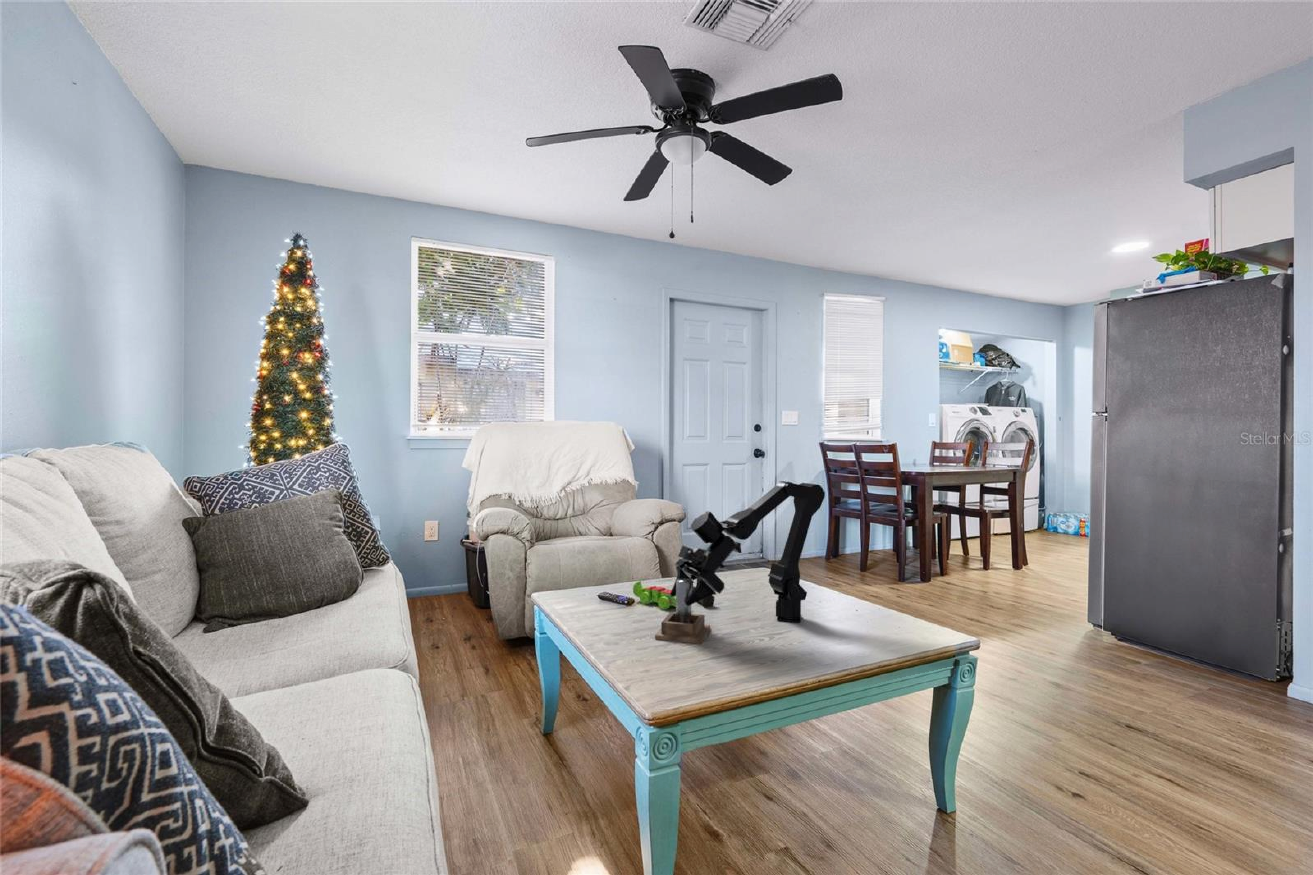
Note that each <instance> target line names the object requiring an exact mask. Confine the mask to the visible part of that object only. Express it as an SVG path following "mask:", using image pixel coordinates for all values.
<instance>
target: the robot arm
mask: <svg viewBox="0 0 1313 875" xmlns="http://www.w3.org/2000/svg"><path fill="white" fill-rule="evenodd" d="M790 497H793V505H794V515H793V518H792V522H791V525H790V529H789V531H788V535H787V538H786V542H785V545H784V548H783V552H782V555H781V558H780V560H778V562H777V563H775V562H772V563H771V566H770V570H769V573H768V574H767V577H769V578H768V584H769V585H770V587H771V588H772V590H773V591H772V592H773V593H774V595H777V599H776V602H775V617H776V621H780V622H790V623H801V622H802V618H803V617H802V601H805V600H806V597H807V593H808V592H807V591H806V590H805V589H804V588H803V587H802V585H801V584H800V580H801V572H800V567H799V563H800V561H801V560H800V559H801V556H802V554H803V549H804V547H805V543H806V539H807V536H808V532H809V529H810V525H811V522H812V518H813V516H814V515H815V514H816V513H817V512H818V511H819V509H820V508H821V506H822V505H823V504H822V503H823V502H824V500H825V497H826V492H825V490H824V488H823V487H822V485H820V484H817V483H816V484H815V483H809V482H802V483H799V484H798V483H793V482H791V481H784V480H781V481H778V482H777V483H776V485H775V486H774V487H772V488H771V489H769V490H768V492H767V493H765V494H764V495H763V496H761V497H760V498H759V499H758V500H757V501H755V502H754V503H753V504H751V506H749V507H748V508H746V509H744V510H740V511H737V512H736V513H734V514H732V515H731V516H729V517H727V518H726V520H723V521H719V520H718V519H717V518H716V517H715V515H714V514H713V512H711V511H708V510H707V511H705V513H704V514H701V515H699V516H698V517H696V518H694V519H693V521H692V523H691V524H690V529H691V530H692V531H693V532H694V534H696V535H697V536H698V537H699V539H700V540H701V541H702V542H703V543H704V544H710V545H709V546H708V547H707V548H706V549H704V548H699V547H698V546H696V547H694V549H693V548H690V547H688V546H685V545H682V546H681V548H680V550H679V553H678V555H677V556H678V557H679V558H680V559H678V560H677V561H676V562H675V570H676V572H677V576H676V579H675V581H674V583H673V586H672V588H671V590H672V591H671V593H670V595H671V596H673V597H674V596H675V595H676V580H678V579H690V580H691V584H692V583H693V584H694V583H695V581H696V585H695V586H694V587H695V588H694V590H693V591H692V593H691V594H690V596H689V597H688V599H687V600H686V602H685V604H686V605H687V606H689V605H691V606H692V605H694V604H695V603H697V602H698V601H700V600H702V599H704V598H706V597H709V596H711V595H713V596H715V595H717V594H721V593H722V592H723V591H724V589H725V582H724V581H723V580H722V579H721V578H720V577H719V576H718V575H717V574H716V572H717V571H718V570H719V569H721V570H723V569H724V568H725V564H724V563H725V562H726V560H727V559H728V558H729V557H730V555H731V554H732V553H733V552H735V553H738V554H742V546H741V545H742V543H740V542H738V541H735V540H734V539H733V538H735V539H738V540H742V541H743V540H744V541H745V540H747V539H749V538H750V537H751V536H752V535H753V533H754V532H755V531H756V530H757V528H758V526H759V523H760V522H761V521H762V520H763V519H764V518H766V516H768V515H769V514H771V512H773V511H774V510H776V508H778V507H779V505H781V504H782V503H783V502H784V501H786V500H787V499H788V498H790ZM723 532H724V533H725V534H726V535H725V534H724V533H723ZM694 580H695V581H694Z"/></svg>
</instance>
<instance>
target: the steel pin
mask: <svg viewBox="0 0 1313 875" xmlns="http://www.w3.org/2000/svg"><path fill="white" fill-rule="evenodd" d="M691 580H692V579H691ZM691 580H690V579H678V580H676V579H675V581H676V607H675V612H676V622H679V623H689V624H691V614H692V604H691V605H689V606H687V605H686V604H685V602H686V600H687V599H688V597H689V596H690V594H691Z"/></svg>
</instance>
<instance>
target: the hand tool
mask: <svg viewBox="0 0 1313 875" xmlns="http://www.w3.org/2000/svg"><path fill="white" fill-rule="evenodd" d="M695 587H696V586H694V583H692V584H691V593H692V591H693V590H694V588H695ZM715 600H716V599H715V595H711V596H709V597H706V598H704V599H702V600H700V601H697V602H698V603H700V604H701V605H702V606H703V608H711V607H713V606H714V604H715Z"/></svg>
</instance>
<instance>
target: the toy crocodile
mask: <svg viewBox="0 0 1313 875" xmlns="http://www.w3.org/2000/svg"><path fill="white" fill-rule="evenodd" d="M641 582H642V581H641V580H638V581H637V582H635V583H634V584H633V587H632V592H633V595H634V596H635V597H637V598H639V600H640V602H641V604H642V605H645V606H646V605H650V604H651V602H654V603H657V605H658V608H659V609H661V610H662V611H665V610H668V609H669V608H670V606H671V607H672V606H673V607H675V608H676V595H675V596H674V597H673V596H671V595H670V593H671V591H672V589H669V588H666V587H662V586H658V587H657V586H656V585H654V586H653V585H652V586H643V585H642V584H641Z"/></svg>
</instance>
